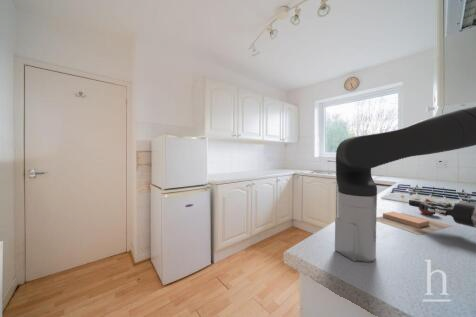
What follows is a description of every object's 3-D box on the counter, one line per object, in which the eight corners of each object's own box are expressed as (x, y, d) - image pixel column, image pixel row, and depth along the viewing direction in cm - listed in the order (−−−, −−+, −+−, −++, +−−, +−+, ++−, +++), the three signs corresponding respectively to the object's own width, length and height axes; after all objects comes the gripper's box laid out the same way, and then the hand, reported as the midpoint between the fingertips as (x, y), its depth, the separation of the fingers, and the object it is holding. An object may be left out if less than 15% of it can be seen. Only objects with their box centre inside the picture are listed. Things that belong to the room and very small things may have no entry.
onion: (441, 218, 78) (441, 200, 78) (425, 218, 79) (426, 200, 79) (429, 214, 84) (429, 197, 84) (415, 213, 85) (415, 197, 85)
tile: (418, 223, 66) (382, 213, 77) (418, 227, 66) (382, 216, 78) (429, 220, 69) (393, 211, 80) (429, 225, 69) (392, 215, 80)
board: (419, 237, 60) (419, 234, 60) (369, 221, 75) (369, 218, 75) (452, 228, 68) (452, 225, 68) (402, 214, 83) (402, 212, 83)
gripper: (489, 202, 57) (419, 191, 74) (470, 206, 53) (399, 194, 69) (489, 225, 58) (419, 209, 74) (469, 231, 53) (399, 213, 69)
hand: (410, 202), depth 71 cm, fingers closed
